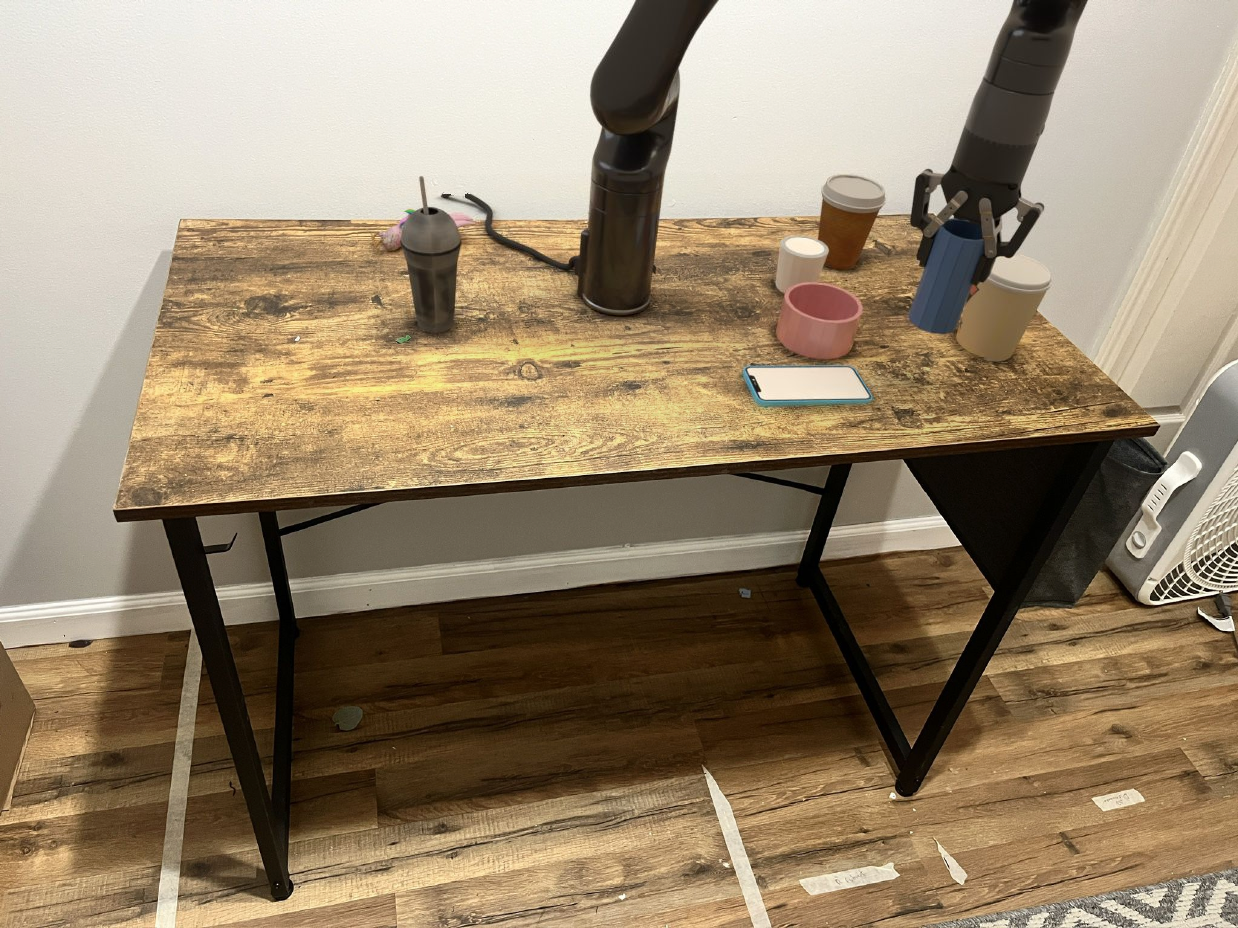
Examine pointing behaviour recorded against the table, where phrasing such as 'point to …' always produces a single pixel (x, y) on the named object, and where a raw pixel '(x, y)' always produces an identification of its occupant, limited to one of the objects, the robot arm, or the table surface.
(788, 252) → the white cylinder
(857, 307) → the pink cup
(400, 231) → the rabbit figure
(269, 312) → the table surface
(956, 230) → the blue cup
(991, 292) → the coffee cup
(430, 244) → the beverage cup
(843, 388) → the smartphone
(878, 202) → the disposable coffee cup
